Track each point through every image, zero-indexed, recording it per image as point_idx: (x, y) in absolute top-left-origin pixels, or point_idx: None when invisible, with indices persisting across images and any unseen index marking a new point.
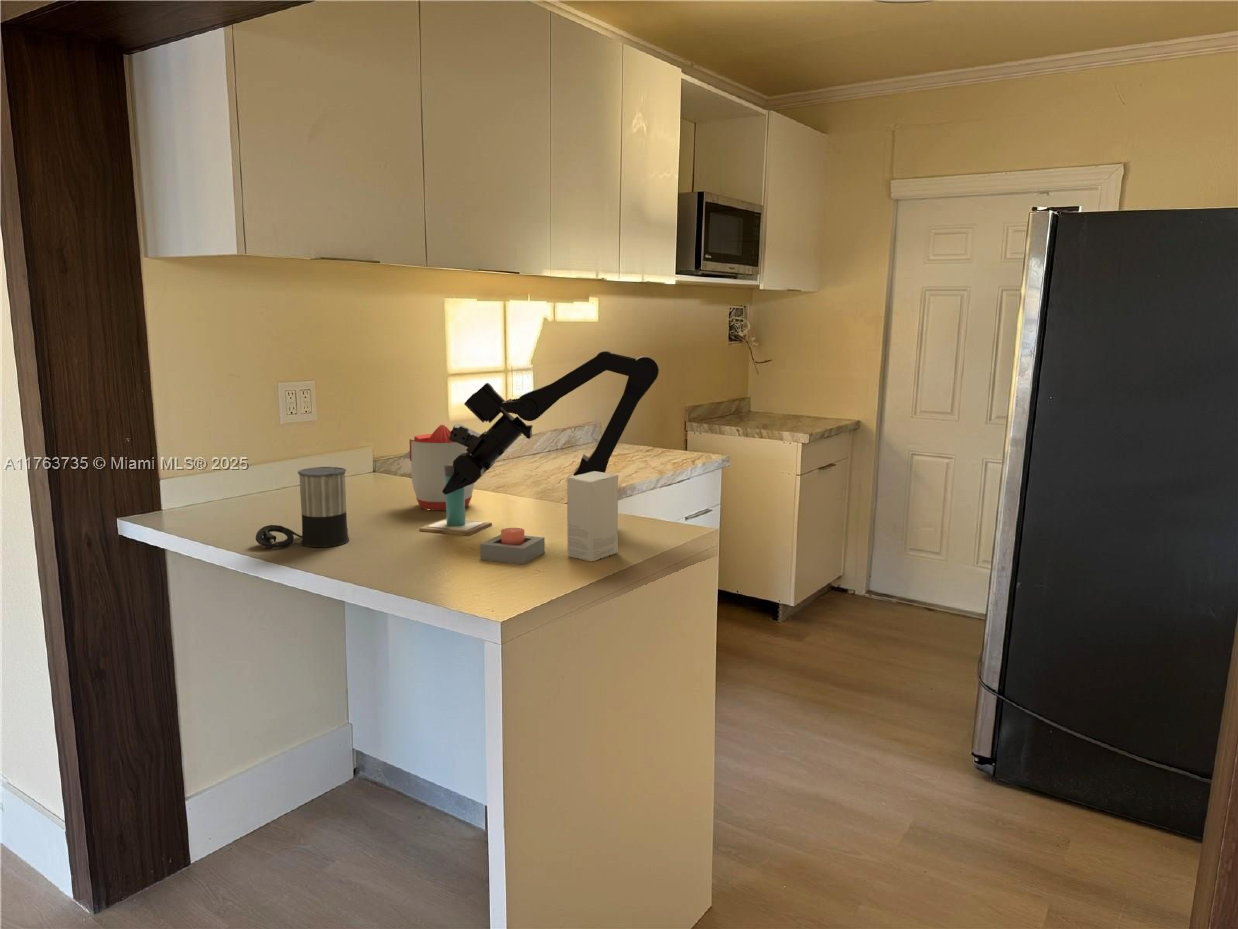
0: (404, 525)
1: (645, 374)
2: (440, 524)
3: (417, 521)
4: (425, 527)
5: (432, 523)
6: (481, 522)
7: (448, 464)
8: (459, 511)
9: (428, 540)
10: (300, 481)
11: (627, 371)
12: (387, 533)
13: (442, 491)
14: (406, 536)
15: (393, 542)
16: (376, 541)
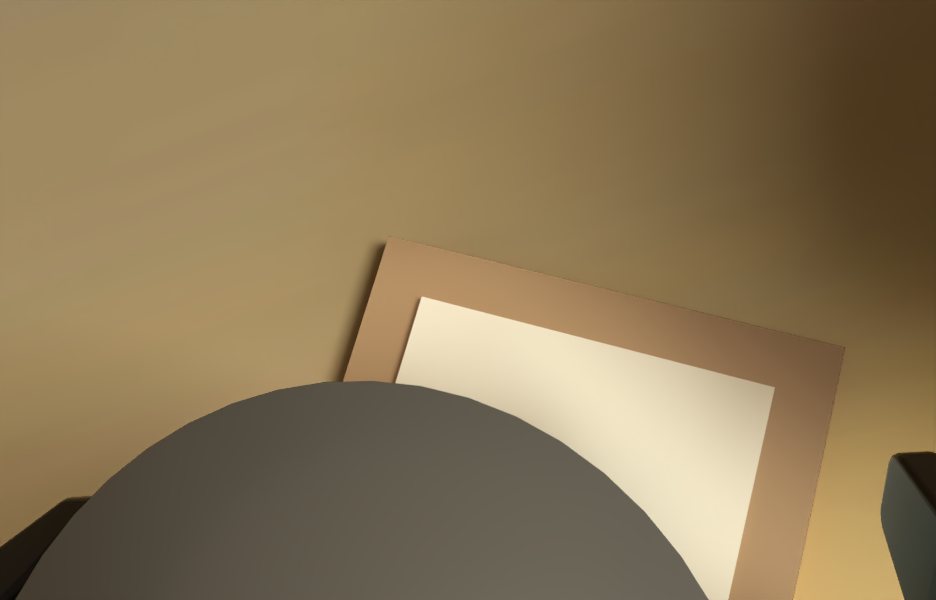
0: (587, 47)
1: None
2: (509, 403)
3: (768, 100)
4: (408, 287)
5: (580, 300)
6: None
7: (450, 513)
8: None
9: (64, 433)
10: None
11: None
12: (292, 24)
13: (65, 504)
14: (197, 206)
15: (12, 176)
16: (46, 45)
